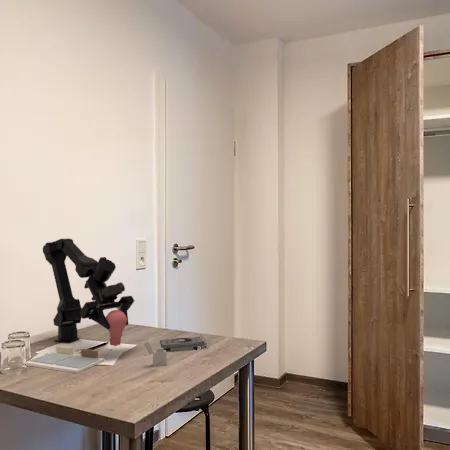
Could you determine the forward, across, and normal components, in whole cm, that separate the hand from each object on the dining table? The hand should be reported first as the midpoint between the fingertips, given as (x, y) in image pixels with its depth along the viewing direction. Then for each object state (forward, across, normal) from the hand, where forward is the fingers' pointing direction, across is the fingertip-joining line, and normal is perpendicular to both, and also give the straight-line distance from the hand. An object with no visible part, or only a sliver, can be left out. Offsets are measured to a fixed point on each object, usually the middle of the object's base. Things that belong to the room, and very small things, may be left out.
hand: (118, 326), depth 151 cm
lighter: (+18, +2, -4) cm, 19 cm away
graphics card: (+13, +23, +3) cm, 27 cm away
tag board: (+2, -15, +13) cm, 20 cm away
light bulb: (+4, 0, +6) cm, 7 cm away
